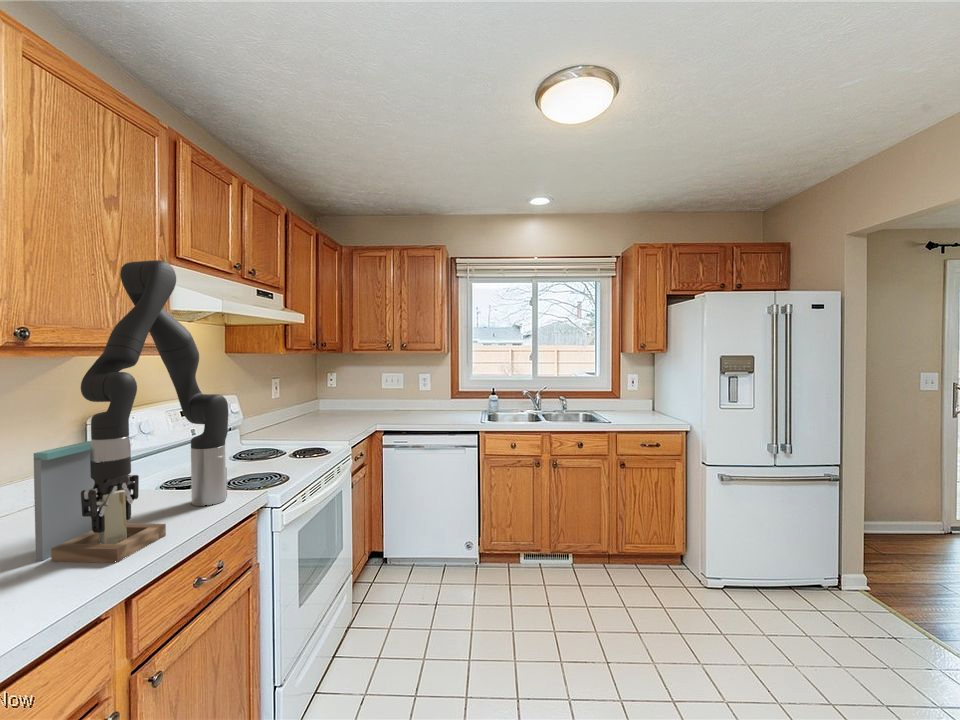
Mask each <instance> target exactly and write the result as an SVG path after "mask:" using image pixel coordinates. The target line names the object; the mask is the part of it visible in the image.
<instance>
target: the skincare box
mask: <svg viewBox="0 0 960 720" xmlns="http://www.w3.org/2000/svg"><path fill="white" fill-rule="evenodd" d="M107 496H108V494H106V495H103V497H102V500H99V502H104V501H105V499H106V498H107ZM100 507H101V506H99V507H98V509H97V511H99V509H100ZM103 516H105V530H104V531H103V532H101V533H99V541H100V543H101V544H117V543H119V542H121V541H123V540H125V539H127V533H126V523H127V521H126V502H125V490H117V491H116V492H115V493H112V494H110V505H109V506H106V510H105V512H104V515H103Z"/></svg>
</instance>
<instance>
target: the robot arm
mask: <svg viewBox="0 0 960 720" xmlns="http://www.w3.org/2000/svg"><path fill="white" fill-rule="evenodd" d="M120 279H121V283H122V286H123V288H124V290H125V292H126V293H127V295H128V297H129V299H130V300H131V303H132V304H133V305H134V307H132V309H131V310H129V312H127V313H126V315H124V316H123V318H122V319H120V320H119V321H118V322H117V323H116V325H115V326H114V328H112V331H111V333H110V336H109V337H108V340H107V342H106V344H105V347H104V350H103V353H102V354H101V355H100V356H98V358H97V359H96V360H95V362H94V363H93V364H92V365H91V367H89V368H88V370H87V372H85V374H84V376H83V377H82V379H81V382H80V392H81V395H82V397H83V398H84V399H85V400H87V401H89V402H94V403H107V402H109V405H108V408H107V410H106V411H102V412H97V413H95V414H94V415H93V416H92V417H91V418H90V437H91V438H90V439H91V440H90V441H91V446H90V472H91V478H92V479H93V480H94V481H95V484H94V487H93V488H92V489H90V490H83V491H82V492H81V504H82V516H83V517H86V516H90V517H91V518H92V531H93V532H94V533H101V532H103V531H104V530H105V516H103V515H104V512H105V510H106V506H109V505H110V494H112V493H115V492H116V491H117V490H125V502H126V522H127V521H129V520H131V518H132V517H131V516H132V504H133V502H134V501H135V500H138V498H139V490H140V489H139V485H140V484H139V483H140V482H139V477H140V476H139V475H138V474H131V473H132V456H131V455H132V449H131V448H132V447H131V446H132V445H131V441H130V422H129V421H130V415H131V412H132V409H133V406H134V402H135V399H136V396H137V392H138V385H137V381H136V379H135V377H134V376H133V375H132V374H131V373H129V372H126V371H123V370H125V369H130V368H132V367H135V366H136V365H137V363H138V362H139V359H140V357H141V354H142V351H143V347H144V346H145V343H146V340H147V338H148V335H149V334H150V336H151V338H152V340H153V343H154V345H155V347H156V350H157V352H158V354H159V356H160V358H161V360H162V362H163V364H164V366H165V368H166V370H167V372H168V375H169V377H170V380H171V381H172V384H173V387H174V390H175V392H176V394H177V395H176V396H177V398H178V402H179V406H180V408H181V411H182V413H183V415H184V417H185V419H186V420H187V422H189V423H191V424H195V425H203V432H202V433H201V434H198V435H196V436H193V437H191V440H190V471H191V473H190V474H191V475H190V477H191V479H190V480H191V489H190V490H191V505H192V506H195V507H206V506H205V505H207V506H213V505H216V504H220V503H222V502H225V501H226V499H227V497H228V476H227V475H228V473H227V467H226V465H227V464H226V439H227V435H228V432H229V431H228V430H229V429H228V426H229V403H228V401H227V399H226V397H224V396H223V395H222V394H204V393H203V392H202V391H201V390H200V387H199V384H198V382H197V379H196V377H197V376H196V375H197V370H198V366H199V364H200V363H199V362H200V352H199V349H198V347H197V344H196V343H195V340H194V337H193V336H192V334H191V332H190V331H189V330H188V329H187V328H186V327H185V325H183V324H182V323H181V322H179V320H177V319H176V318H175V317H173V316H172V315H171V314H170V313H169V312H168V311H167V310H166V308H164V307H165V305H166V303H167V302H168V300H169V299H170V297H171V295H172V294H173V292H174V290H175V287H176V283H177V274H176V272H175V269H174V268H173V266H172V265H171V264H170V263H169V262H167V261H165V260H160V259H159V260H158V259H157V260H153V259H152V260H141V261H139V260H138V261H131V262H130V261H129V262H126V263H125V264H123V265H122V267H121V269H120ZM106 494H108V496H107V498H106V499H105V501H104V502H99V500H102V497H103V495H106ZM212 504H213V505H212ZM88 506H89V507H90V511H89V507H88ZM99 506H101V507H100V509H99V511H98V507H99Z"/></svg>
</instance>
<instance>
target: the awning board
mask: <svg viewBox="0 0 960 720" xmlns="http://www.w3.org/2000/svg"><path fill="white" fill-rule="evenodd" d="M90 446H91V440H87V441H83V442H78V443H74V444H73V443H72V444H70V445H65V446H61V447H60V446H59V447H56V448H51V449H46V450H41V451H37V452H33V487H34V488H33V491H34V493H33V494H34V495H33V496H34V528H35V529H34V532H35V533H34V534H35V535H34V536H35V538H34V539H35V561H36V562H37V561H38V562H42V561H45V560H49V559H50V558H51V548H53V547H55V546H58V545H60V544H62V543H65V542H67V541H69V540H71V539H74V538H76V537H78V536H80V535H83V534H85V533H87V532H89V531H92V518H91V517H90V516H86V517H83V516H82V504H81V492H82V491H83V490H90V489H92V488H93V487H94V484H95V481H94V480H93V479H92V478H91V472H90ZM88 507H89V506H88ZM89 511H90V507H89Z"/></svg>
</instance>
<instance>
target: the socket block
mask: <svg viewBox="0 0 960 720" xmlns="http://www.w3.org/2000/svg"><path fill="white" fill-rule="evenodd" d="M166 525H167V524H166V523H127V522H126V533H127V539H125V540H123V541H121V542H119V543H117V544H100V541H99V533H94V532H93V531H89V532H87V533H85V534H83V535H80V536H78V537H76V538H74V539H71V540H69V541H67V542H65V543H62V544H60V545H58V546H55V547H53V548H51V557H50V558H51V563H115V561H116V562H118V561H119V562H121V561H123V560H124V559H123V558H125V557H127V556H128V557H130V556H132V555H133V553H134V552H136V551H137V552H139V551H141V550H143V549H144V548H146V547H148V546H149V544H150V545H151V543H152V544H153V543H155V542H157V541H159V540H161V539H162V538H164V537H166V536H165V535H167V529H166V527H167V526H166ZM160 538H161V539H160ZM158 539H159V540H158ZM156 540H157V541H156ZM147 545H148V546H147ZM145 546H146V547H145ZM142 548H143V549H142ZM140 549H141V550H140ZM138 550H139V551H138ZM137 552H136V553H137ZM131 554H132V555H131ZM134 554H135V553H134ZM129 555H130V556H129ZM128 557H127V558H128ZM122 559H123V560H122ZM125 559H126V558H125ZM120 560H121V561H120ZM119 562H118V563H119Z"/></svg>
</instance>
